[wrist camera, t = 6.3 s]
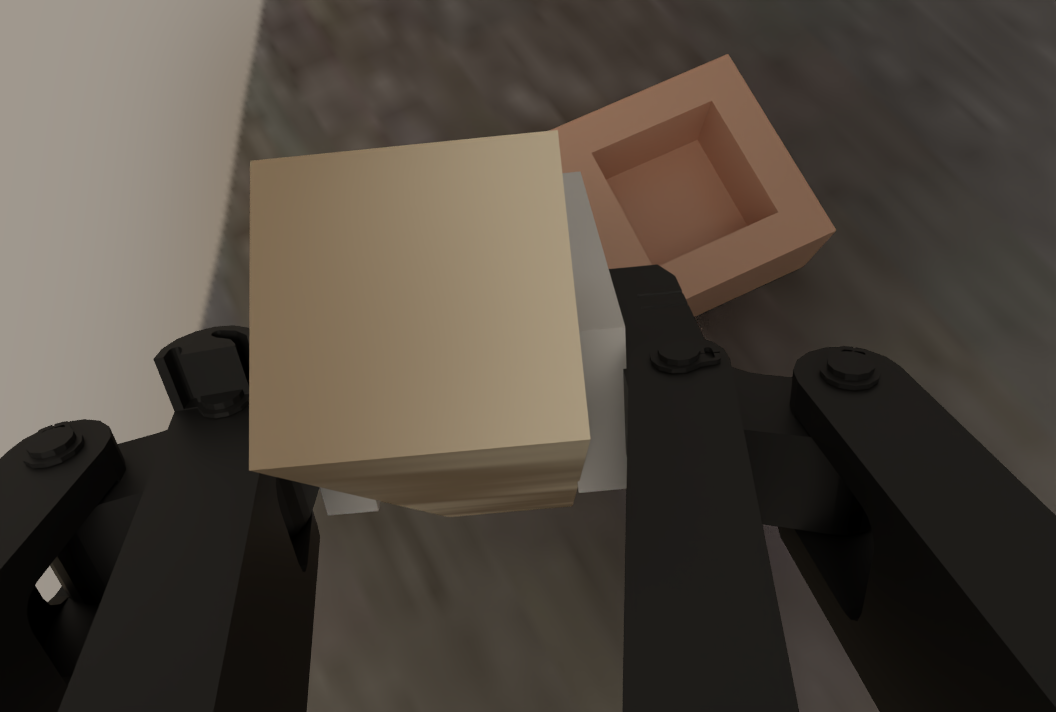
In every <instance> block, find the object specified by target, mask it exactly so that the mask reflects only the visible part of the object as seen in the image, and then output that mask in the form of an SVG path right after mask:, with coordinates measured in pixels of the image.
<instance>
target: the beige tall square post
mask: <svg viewBox="0 0 1056 712" xmlns="http://www.w3.org/2000/svg"><path fill="white" fill-rule="evenodd" d="M590 440H591V438H590V429H589V420H588V410H587V401H586V391H585V382H584V372H583V363H582V354H581V344H580V335H579V325H578V316H577V307H576V297H575V288H574V278H573V269H572V259H571V250H570V241H569V231H568V222H567V212H566V203H565V194H564V184H563V175H562V165H561V156H560V146H559V137H558V130H553V131H543V132H533V133H523V134H513V135H503V136H493V137H483V138H473V139H463V140H454V141H444V142H434V143H424V144H414V145H404V146H394V147H384V148H374V149H364V150H354V151H344V152H334V153H324V154H314V155H304V156H294V157H284V158H274V159H264V160H254V161H250V338H249V471H253V472H257V473H261V474H266V475H270V476H274V477H279V478H283V479H287V480H291V481H296V482H300V483H304V484H308V485H313V486H317V487H321V488H326V489H330V490H334V491H338V492H343V493H347V494H351V495H356V496H360V497H364V498H368V499H373V500H379V501H381V502H385V503H390V504H394V505H398V506H403V507H407V508H411V509H415V510H420V511H424V512H428V513H433V514H437V515H441V516H445V517H456V516H468V515H479V514H490V513H501V512H512V511H523V510H535V509H546V508H557V507H568V506H573V503H574V499H575V495H576V492H577V488H578V484H577V483H578V481H580V477H581V473H582V469H583V466H584V462H585V458H586V455H587V451H588V447H589V443H590Z"/></svg>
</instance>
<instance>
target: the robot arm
mask: <svg viewBox="0 0 1056 712" xmlns="http://www.w3.org/2000/svg"><path fill="white" fill-rule="evenodd" d="M562 175H563V184H564V194H565V203H566V212H567V222H568V231H569V241H570V250H571V259H572V269H573V278H574V288H575V297H576V307H577V316H578V325H579V335H580V344H581V354H582V363H583V372H584V382H585V391H586V401H587V410H588V420H589V429H590V438H591V440H590V443H589V447H588V451H587V455H586V458H585V462H584V466H583V469H582V473H581V477H580V481H578V483H577V484H578V492H579V493H584V492H595V491H606V490H617V489H626V544H625V601H624V658H623V712H799V709H798V704H797V699H796V694H795V688H794V683H793V678H792V673H791V668H790V663H789V658H788V653H787V648H786V643H785V637H784V632H783V627H782V622H781V617H780V612H779V607H778V602H777V597H776V592H775V587H774V581H773V576H772V571H771V566H770V561H769V556H768V551H767V546H766V541H765V536H764V530H763V525H762V524H765V525H771V526H778V529H779V533H780V536H781V539H782V540H783V542H784V544H785V546H786V547H787V549H788V551H789V553H790V554H791V556H792V558H793V560H794V561H795V563H796V565H797V567H798V568H799V570H800V572H801V574H802V576H803V577H804V579H805V581H806V583H807V584H808V586H809V588H810V590H811V591H812V593H813V595H814V597H815V598H816V600H817V602H818V604H819V605H820V607H821V609H822V611H823V613H824V614H825V616H826V618H827V620H828V621H829V623H830V625H831V627H832V628H833V630H834V632H835V634H836V635H837V637H838V639H839V641H840V642H841V644H842V646H843V648H844V650H845V651H846V653H847V655H848V657H849V658H850V660H851V662H852V664H853V665H854V667H855V669H856V671H857V672H858V674H859V676H860V678H861V680H862V681H863V683H864V685H865V687H866V688H867V690H868V692H869V694H870V695H871V697H872V699H873V701H874V702H875V704H876V706H877V708H878V709H879V711H880V712H1056V515H1055V514H1054V513H1053V512H1051V511H1050V510H1049V509H1048V508H1047V507H1046V506H1045V505H1044V504H1043V503H1042V502H1041V501H1040V500H1039V499H1038V498H1037V497H1036V496H1035V495H1034V494H1033V493H1032V492H1031V491H1030V490H1029V489H1028V488H1027V487H1025V486H1024V485H1023V484H1022V483H1021V482H1020V481H1019V480H1018V479H1017V478H1016V477H1015V476H1014V475H1013V474H1012V473H1011V472H1010V471H1009V470H1008V469H1007V468H1006V467H1005V466H1004V465H1003V464H1002V463H1000V462H999V461H998V460H997V459H996V458H995V457H994V456H993V455H992V454H991V453H990V452H989V451H988V450H987V449H986V448H985V447H984V446H983V445H982V444H981V443H980V442H979V441H978V440H977V439H975V438H974V437H973V436H972V435H971V434H970V433H969V432H968V431H967V430H966V429H965V428H964V427H963V426H962V425H961V424H960V423H959V422H958V421H957V420H956V419H955V418H954V417H953V416H952V415H951V414H949V413H948V412H947V411H946V410H945V409H944V408H943V407H942V406H941V405H940V404H939V403H938V402H937V401H936V400H935V399H934V398H933V397H932V396H931V395H930V394H929V393H928V392H927V391H926V390H924V389H923V388H922V387H921V386H920V385H919V384H918V383H917V382H916V381H915V380H914V379H913V378H912V377H911V376H910V375H909V374H908V373H907V372H906V371H905V370H904V369H903V368H902V367H901V366H899V365H898V364H896V363H895V362H893V361H892V360H890V359H889V358H887V357H885V356H882V355H880V354H877V353H874V352H871V351H868V350H866V349H861V348H853V347H845V346H842V347H829V348H822V349H818V350H815V351H811V352H808V353H806V354H805V355H804V356H802V357H801V358H799V359H798V360H797V362H796V364H795V367H794V369H793V377H783V376H772V375H762V374H756V373H749V372H746V371H742V370H739V369H736V368H733V367H731V362H730V359H729V357H728V355H727V353H726V352H725V350H724V349H723V348H721V347H720V346H718V345H717V344H715V343H713V342H712V341H708V340H705V339H704V337H703V335H702V333H701V331H700V328H699V326H698V324H697V322H696V320H695V318H694V315H693V313H692V311H691V309H690V307H689V305H688V303H687V300H686V298H685V296H684V294H683V293H682V289H681V287H680V285H679V283H678V281H677V279H676V276H675V275H673V274H672V273H670V272H668V271H667V270H665V269H664V268H662V267H661V266H659V265H658V264H656V265H646V266H636V267H625V268H615V269H608V265H607V262H606V258H605V255H604V251H603V248H602V244H601V241H600V238H599V234H598V231H597V227H596V224H595V220H594V217H593V213H592V210H591V206H590V203H589V199H588V196H587V192H586V189H585V185H584V182H583V179H582V175H581V172H570V173H562ZM249 338H250V329H249V328H246V327H240V326H220V327H212V328H208V329H204V330H200V331H196V332H193V333H191V334H188V335H186V336H184V337H181V338H179V339H176V340H175V341H173V342H172V343H170V344H169V345H167V346H166V347H164V348H163V349H162V350H161V351H160V352H159V353H158V354H157V355H156V357H155V358H154V361H155V364H156V366H157V369H158V371H159V374H160V376H161V379H162V381H163V384H164V386H165V389H166V391H167V394H168V396H169V398H170V401H171V403H172V406H173V409H174V411H175V412H174V415H173V417H172V420H171V422H170V425H169V427H168V430H166V431H163V432H160V433H157V434H153V435H150V436H146V437H143V438H139V439H135V440H131V441H128V442H124V443H120V444H117V443H116V440H115V438H114V436H113V434H112V432H111V429H110V428H109V426H107V425H106V424H104V423H102V422H101V421H96V420H86V419H84V420H77V421H70V422H67V421H66V422H61V423H57V424H55V426H52V425H51V426H48V427H45V428H43V429H41V430H39V431H38V432H37V433H35V434H33V435H31V436H29V437H27V438H25V439H23V440H22V441H21V442H19V443H18V444H17V445H16V446H14V447H13V448H12V449H10V450H9V451H8V452H7V453H6V454H5V455H4V456H3V457H1V459H0V712H306V711H307V698H308V685H309V672H310V659H311V646H312V633H313V620H314V607H315V594H316V582H317V569H318V556H319V543H320V534H319V530H318V526H317V522H316V519H315V516H314V513H313V506H314V503H315V500H316V497H317V493H318V490H319V488H320V491H321V494H322V497H323V501H324V504H325V507H326V511H327V514H328V515H338V514H350V513H361V512H372V511H379V506H380V501H379V500H373V499H368V498H364V497H360V496H356V495H351V494H347V493H343V492H338V491H334V490H330V489H326V488H321V487H317V486H313V485H308V484H304V483H300V482H296V481H291V480H287V479H283V478H279V477H274V476H270V475H266V474H261V473H257V472H253V471H249ZM49 566H51V568H52V570H53V571H54V573H55V575H56V576H57V578H58V580H59V582H60V583H61V585H62V587H61V588H60V590H59V591H58V592H57V594H56V595H55V596H54V597H53V598H52V599H51V600H50V601H49V602H46V601H45V600H44V599H43V598H42V596H41V595H40V593H39V591H38V590H37V588H36V586H35V584H36V582H37V581H38V580H39V578H40V577H41V576H42V575H43V573H44V572H45V571H46V569H47V568H48V567H49Z"/></svg>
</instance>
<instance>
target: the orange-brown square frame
mask: <svg viewBox="0 0 1056 712" xmlns="http://www.w3.org/2000/svg"><path fill="white" fill-rule="evenodd" d="M553 130H558V137H559V146H560V156H561V165H562V173H570V172H581V175H582V179H583V182H584V185H585V189H586V192H587V196H588V199H589V203H590V206H591V210H592V213H593V217H594V220H595V224H596V227H597V231H598V234H599V238H600V241H601V244H602V248H603V251H604V255H605V258H606V262H607V265H608V269H615V268H625V267H636V266H646V265H656V264H658V265H659V266H661V267H662V268H664V269H665V270H667V271H668V272H670V273H672V274H673V275H675V276H676V279H677V281H678V283H679V285H680V287H681V289H682V293H683V294H684V296H685V298H686V300H687V303H688V305H689V307H690V309H691V311H692V313H693V315H694V317H695V316H697V315H700V314H702V313H704V312H706V311H708V310H710V309H713V308H715V307H717V306H719V305H721V304H723V303H726V302H728V301H730V300H732V299H734V298H737V297H739V296H741V295H743V294H745V293H747V292H750V291H752V290H754V289H756V288H758V287H760V286H763V285H765V284H767V283H769V282H771V281H773V280H776V279H778V278H780V277H782V276H784V275H787V274H789V273H791V272H793V271H795V270H797V269H800V268H802V267H804V265H805V264H806V263H807V262H808V261H809V260H810V259H811V258H812V257H813V256H814V254H815V253H816V252H817V251H818V250H819V249H820V248H821V247H822V246H823V245H824V244H825V242H826V241H827V240H828V239H829V238H830V237H831V236H832V235H833V234H834V233H835V232H836V229H835V227H834V226H833V224H832V222H831V221H830V219H829V217H828V216H827V214H826V213H825V211H824V209H823V208H822V206H821V204H820V203H819V201H818V200H817V198H816V196H815V195H814V193H813V191H812V190H811V188H810V187H809V185H808V183H807V182H806V180H805V178H804V177H803V175H802V174H801V172H800V170H799V169H798V167H797V165H796V164H795V162H794V160H793V159H792V157H791V156H790V154H789V152H788V151H787V149H786V147H785V146H784V144H783V143H782V141H781V139H780V138H779V136H778V134H777V133H776V131H775V130H774V128H773V126H772V125H771V123H770V121H769V120H768V118H767V116H766V115H765V113H764V112H763V110H762V108H761V107H760V105H759V103H758V102H757V100H756V99H755V97H754V95H753V94H752V92H751V90H750V89H749V87H748V86H747V84H746V82H745V81H744V79H743V77H742V76H741V74H740V73H739V71H738V69H737V68H736V66H735V64H734V63H733V61H732V59H731V58H730V56H729V55H728V54H727V55H724V56H722V57H720V58H717V59H715V60H713V61H710V62H708V63H706V64H703V65H701V66H699V67H696V68H694V69H692V70H689V71H687V72H685V73H682V74H680V75H678V76H675V77H673V78H671V79H668V80H666V81H664V82H661V83H659V84H657V85H654V86H652V87H650V88H647V89H645V90H643V91H640V92H638V93H636V94H633V95H631V96H629V97H626V98H624V99H622V100H619V101H617V102H615V103H613V104H610V105H608V106H606V107H603V108H601V109H599V110H596V111H594V112H592V113H589V114H587V115H585V116H582V117H580V118H578V119H575V120H573V121H571V122H568V123H566V124H564V125H561V126H559V127H557V128H554V129H552V130H550V131H553Z"/></svg>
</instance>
